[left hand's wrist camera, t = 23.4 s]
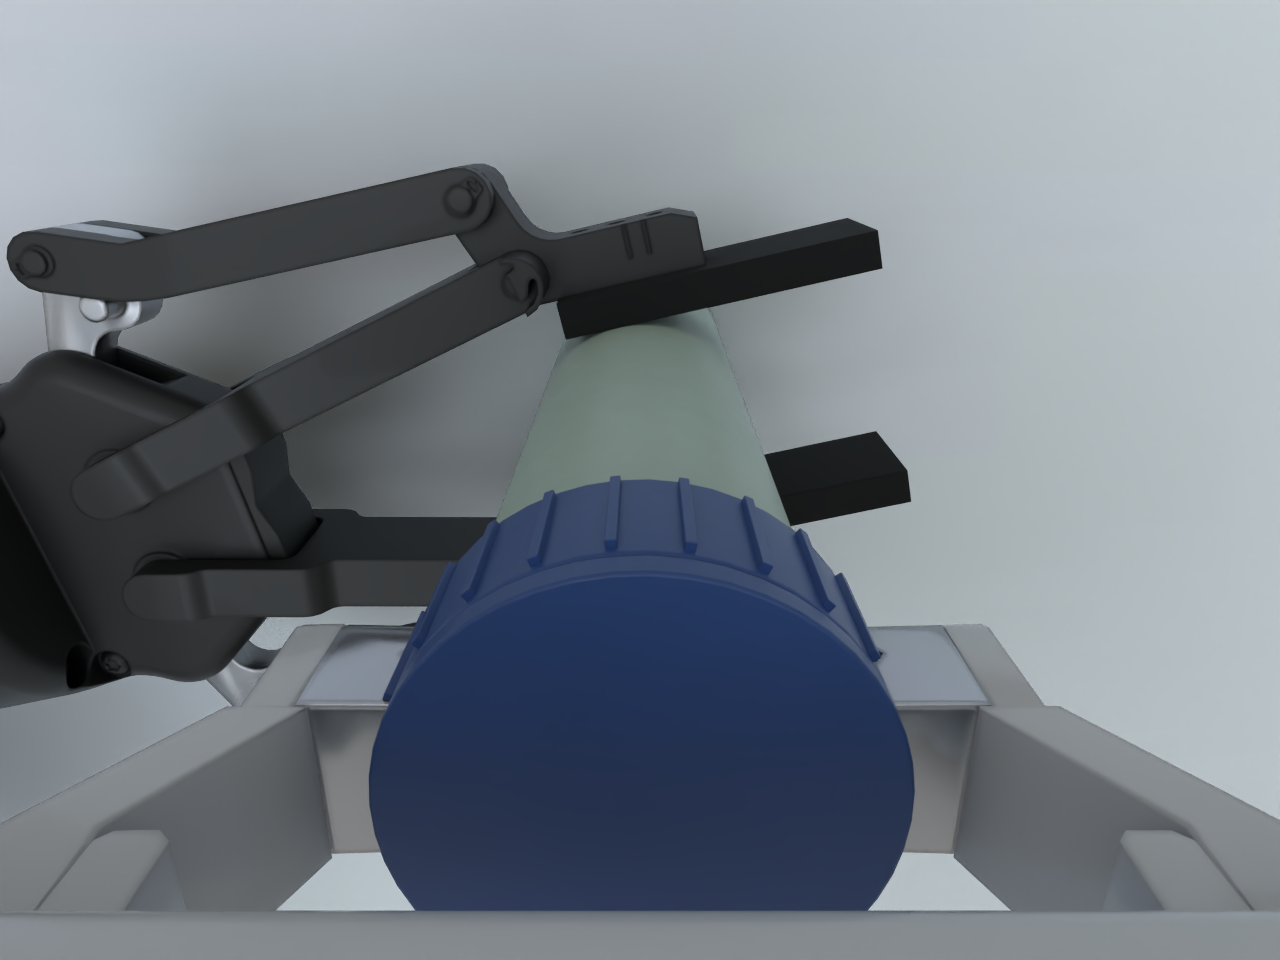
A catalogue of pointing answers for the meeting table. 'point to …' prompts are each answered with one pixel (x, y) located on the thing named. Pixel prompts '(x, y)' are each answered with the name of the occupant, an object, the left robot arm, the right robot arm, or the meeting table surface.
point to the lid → (641, 718)
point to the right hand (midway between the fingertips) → (876, 358)
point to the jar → (644, 416)
